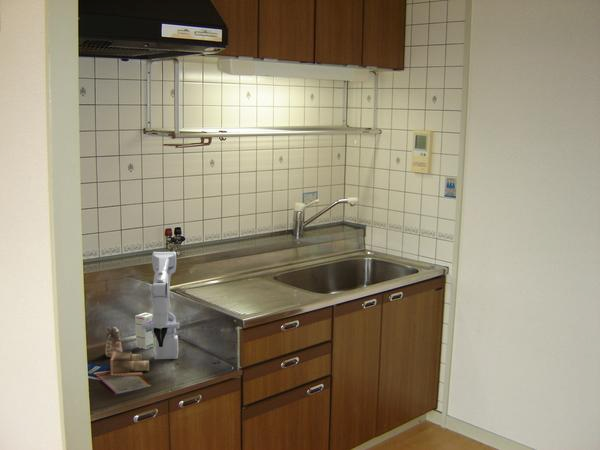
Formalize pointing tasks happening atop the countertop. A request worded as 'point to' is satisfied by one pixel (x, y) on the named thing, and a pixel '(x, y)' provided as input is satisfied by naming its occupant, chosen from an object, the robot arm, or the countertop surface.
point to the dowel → (139, 365)
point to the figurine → (113, 342)
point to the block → (122, 362)
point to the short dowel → (136, 357)
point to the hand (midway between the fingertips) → (161, 346)
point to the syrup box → (144, 331)
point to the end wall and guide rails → (120, 373)
